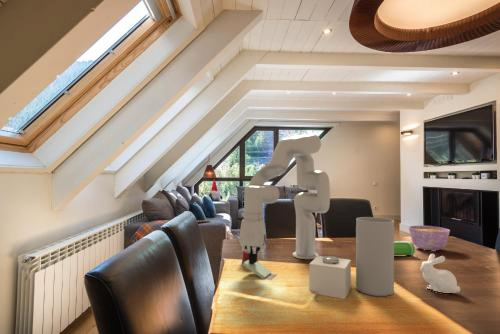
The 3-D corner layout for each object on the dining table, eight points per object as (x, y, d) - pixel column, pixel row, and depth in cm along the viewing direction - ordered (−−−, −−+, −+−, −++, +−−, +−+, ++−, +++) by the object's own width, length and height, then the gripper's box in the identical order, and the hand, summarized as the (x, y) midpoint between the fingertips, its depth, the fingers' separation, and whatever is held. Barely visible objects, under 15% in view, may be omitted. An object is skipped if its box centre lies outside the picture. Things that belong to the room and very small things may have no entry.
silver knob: (324, 283, 118) (324, 255, 118) (339, 286, 115) (340, 257, 115) (320, 288, 113) (320, 259, 113) (336, 291, 110) (337, 261, 110)
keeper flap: (270, 274, 129) (250, 260, 133) (271, 271, 128) (251, 258, 133) (263, 279, 122) (242, 264, 126) (264, 276, 122) (243, 262, 126)
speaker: (407, 254, 167) (407, 239, 167) (415, 257, 160) (415, 242, 160) (374, 254, 165) (374, 239, 165) (381, 258, 158) (381, 242, 158)
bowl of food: (450, 248, 180) (450, 227, 180) (449, 256, 163) (449, 233, 163) (410, 244, 190) (410, 224, 191) (406, 250, 174) (406, 229, 174)
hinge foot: (272, 276, 128) (272, 273, 128) (277, 277, 127) (277, 274, 127) (266, 281, 122) (266, 279, 122) (270, 282, 121) (270, 279, 121)
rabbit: (418, 288, 116) (418, 255, 116) (427, 282, 122) (427, 251, 123) (457, 298, 107) (457, 262, 107) (464, 291, 114) (464, 257, 114)
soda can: (256, 267, 140) (256, 239, 140) (240, 266, 142) (240, 239, 142) (259, 263, 147) (259, 236, 147) (243, 261, 149) (244, 235, 149)
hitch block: (317, 282, 122) (318, 255, 122) (350, 287, 117) (350, 259, 117) (309, 292, 111) (309, 263, 111) (344, 299, 106) (345, 268, 106)
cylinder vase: (390, 300, 105) (390, 223, 106) (352, 292, 112) (352, 220, 112) (396, 288, 116) (396, 219, 116) (360, 282, 123) (360, 216, 123)
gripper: (232, 216, 129) (231, 262, 128) (266, 219, 122) (266, 267, 122) (241, 214, 135) (240, 258, 135) (274, 217, 129) (273, 263, 128)
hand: (252, 262), depth 128 cm, fingers closed
